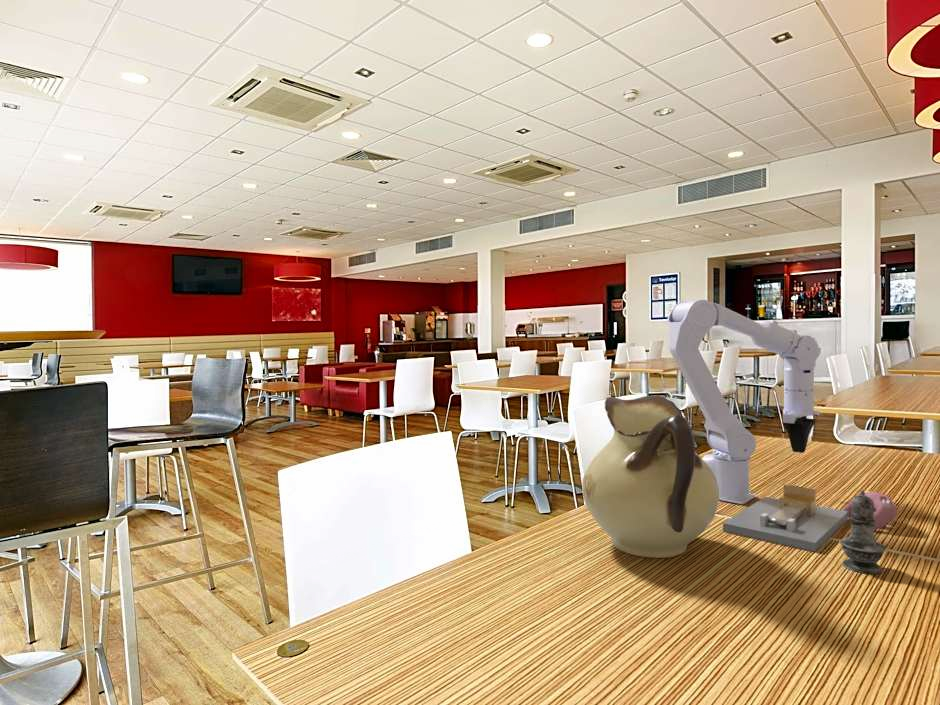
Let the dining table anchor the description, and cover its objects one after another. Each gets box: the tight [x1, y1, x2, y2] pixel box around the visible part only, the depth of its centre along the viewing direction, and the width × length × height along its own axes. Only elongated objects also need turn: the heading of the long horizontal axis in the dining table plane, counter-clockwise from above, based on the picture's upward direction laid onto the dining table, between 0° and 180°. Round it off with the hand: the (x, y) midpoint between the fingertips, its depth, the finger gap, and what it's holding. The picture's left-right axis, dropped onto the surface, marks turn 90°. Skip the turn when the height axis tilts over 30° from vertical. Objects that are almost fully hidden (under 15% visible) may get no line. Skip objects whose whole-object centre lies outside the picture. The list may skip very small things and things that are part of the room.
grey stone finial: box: [839, 489, 886, 575], centre depth 91 cm, size 6×6×12 cm
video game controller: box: [843, 490, 898, 531], centre depth 110 cm, size 10×5×7 cm, turn 169°
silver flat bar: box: [768, 504, 806, 526], centre depth 109 cm, size 3×12×1 cm, turn 135°
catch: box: [779, 483, 817, 516], centre depth 113 cm, size 5×3×4 cm, turn 45°
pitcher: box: [581, 395, 720, 559], centre depth 101 cm, size 22×24×25 cm
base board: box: [722, 496, 849, 553], centre depth 110 cm, size 15×22×3 cm
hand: (798, 451), depth 130 cm, fingers closed
